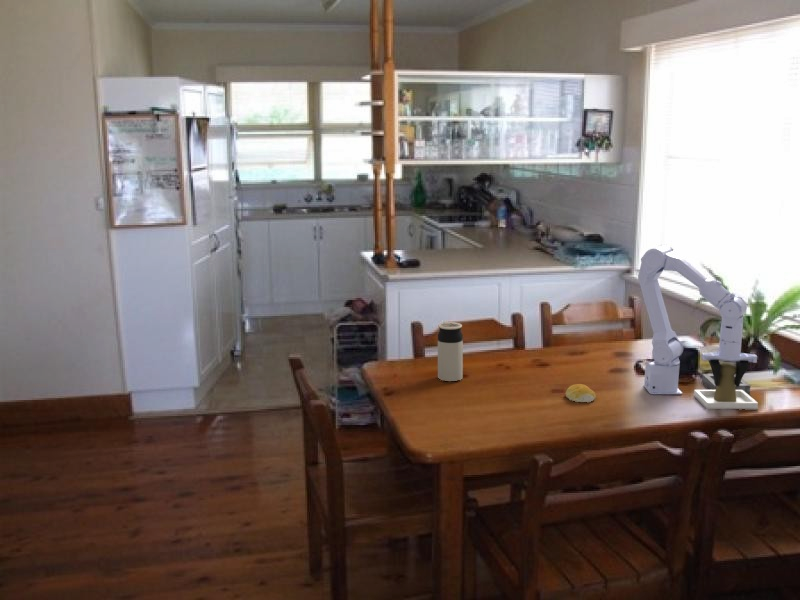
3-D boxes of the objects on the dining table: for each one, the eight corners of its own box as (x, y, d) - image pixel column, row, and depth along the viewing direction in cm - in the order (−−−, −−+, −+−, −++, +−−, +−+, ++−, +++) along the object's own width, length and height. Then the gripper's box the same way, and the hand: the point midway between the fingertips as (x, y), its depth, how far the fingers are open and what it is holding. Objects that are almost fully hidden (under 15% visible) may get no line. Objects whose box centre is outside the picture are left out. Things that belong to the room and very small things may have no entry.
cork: (737, 403, 215) (739, 367, 212) (714, 402, 217) (716, 366, 214) (735, 396, 220) (737, 360, 218) (713, 394, 222) (715, 359, 220)
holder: (714, 393, 225) (714, 385, 225) (701, 381, 235) (702, 374, 235) (749, 393, 225) (750, 385, 224) (735, 381, 235) (736, 374, 234)
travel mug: (459, 384, 237) (459, 329, 233) (434, 381, 239) (434, 327, 235) (465, 376, 244) (465, 322, 240) (441, 373, 247) (441, 321, 243)
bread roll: (587, 392, 229) (587, 379, 228) (598, 402, 220) (599, 389, 219) (561, 393, 228) (561, 381, 227) (571, 404, 219) (572, 391, 218)
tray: (707, 409, 213) (707, 403, 212) (693, 396, 223) (694, 389, 223) (757, 409, 212) (758, 403, 212) (741, 396, 223) (742, 389, 222)
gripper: (753, 336, 216) (749, 381, 219) (700, 335, 218) (697, 379, 221) (760, 343, 209) (756, 389, 212) (706, 341, 212) (702, 387, 215)
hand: (726, 385), depth 216 cm, fingers closed on cork, 5 cm apart
